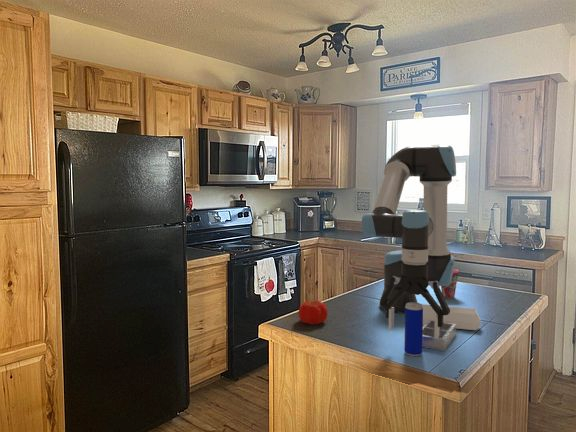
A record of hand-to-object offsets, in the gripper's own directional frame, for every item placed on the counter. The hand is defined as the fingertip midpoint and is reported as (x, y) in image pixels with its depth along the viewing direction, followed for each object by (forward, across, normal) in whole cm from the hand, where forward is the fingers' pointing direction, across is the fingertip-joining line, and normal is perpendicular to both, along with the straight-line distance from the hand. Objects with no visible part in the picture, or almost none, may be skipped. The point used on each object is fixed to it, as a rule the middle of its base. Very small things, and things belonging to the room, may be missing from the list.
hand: (413, 333), depth 133 cm
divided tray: (+6, +3, +15) cm, 17 cm away
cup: (+6, -5, +72) cm, 72 cm away
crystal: (+7, +2, +31) cm, 32 cm away
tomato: (+6, -40, +10) cm, 42 cm away
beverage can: (+7, 0, 0) cm, 7 cm away
